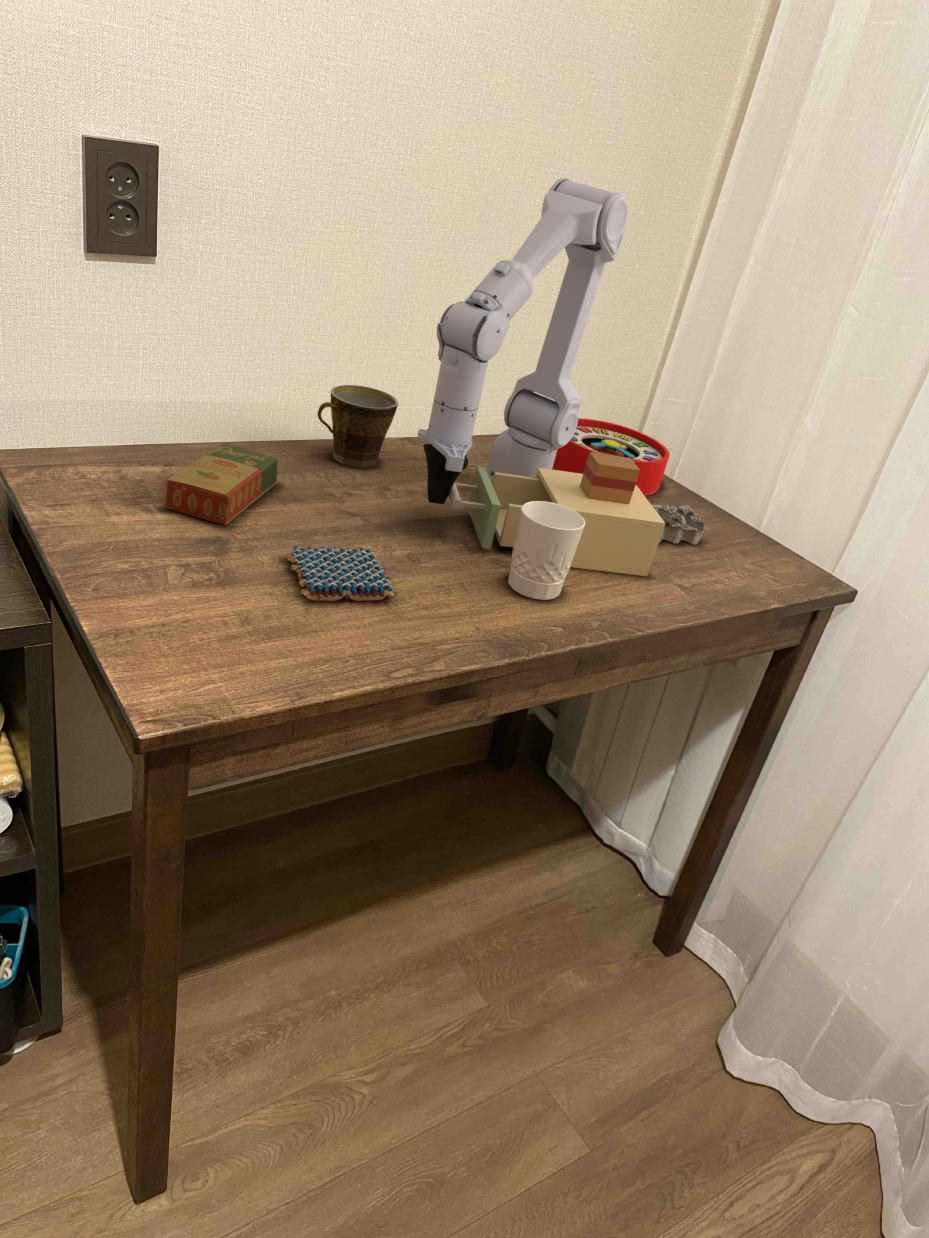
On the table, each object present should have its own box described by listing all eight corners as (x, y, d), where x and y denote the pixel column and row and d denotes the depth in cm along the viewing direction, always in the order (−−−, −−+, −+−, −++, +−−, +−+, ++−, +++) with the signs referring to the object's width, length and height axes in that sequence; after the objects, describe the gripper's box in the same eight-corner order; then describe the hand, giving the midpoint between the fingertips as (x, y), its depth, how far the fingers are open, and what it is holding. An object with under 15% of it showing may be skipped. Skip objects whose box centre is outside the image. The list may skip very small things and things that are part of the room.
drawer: (448, 543, 118) (457, 499, 115) (436, 503, 129) (445, 461, 126) (579, 560, 122) (591, 517, 119) (557, 519, 133) (568, 479, 130)
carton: (163, 509, 112) (164, 477, 110) (220, 469, 126) (222, 440, 124) (227, 527, 111) (229, 495, 109) (277, 485, 125) (280, 455, 123)
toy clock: (616, 418, 168) (693, 460, 155) (608, 447, 171) (682, 492, 157) (532, 418, 157) (607, 464, 143) (524, 450, 160) (597, 498, 146)
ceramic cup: (361, 444, 145) (371, 383, 140) (400, 469, 140) (412, 406, 135) (292, 451, 137) (300, 386, 132) (331, 478, 131) (340, 411, 126)
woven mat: (370, 559, 112) (373, 544, 111) (395, 604, 103) (398, 588, 102) (285, 558, 107) (287, 542, 106) (304, 604, 99) (306, 588, 98)
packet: (587, 498, 122) (598, 463, 120) (579, 485, 126) (589, 451, 123) (629, 504, 123) (640, 470, 121) (620, 491, 127) (630, 457, 125)
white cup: (546, 610, 110) (568, 535, 105) (491, 584, 113) (509, 510, 108) (574, 590, 116) (595, 519, 111) (521, 565, 119) (540, 495, 114)
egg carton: (644, 543, 134) (653, 518, 132) (623, 520, 141) (631, 496, 139) (706, 546, 138) (715, 522, 136) (683, 524, 144) (691, 501, 142)
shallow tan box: (545, 564, 121) (560, 508, 117) (524, 519, 133) (537, 467, 129) (647, 576, 124) (665, 523, 120) (617, 531, 136) (633, 481, 132)
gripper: (419, 380, 120) (401, 476, 127) (431, 417, 108) (411, 520, 115) (471, 389, 122) (451, 483, 128) (488, 426, 110) (465, 527, 116)
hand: (435, 501), depth 122 cm, fingers closed
